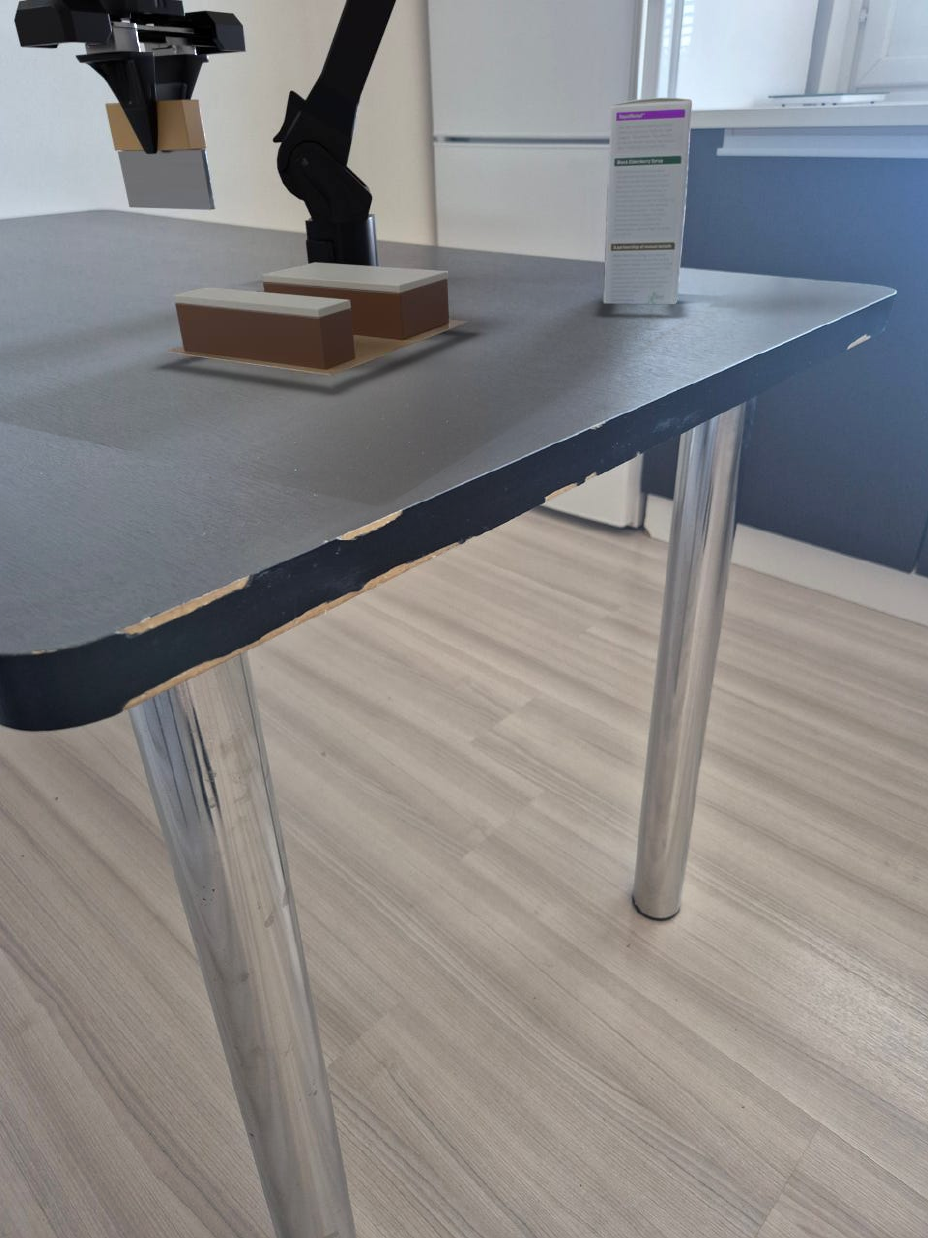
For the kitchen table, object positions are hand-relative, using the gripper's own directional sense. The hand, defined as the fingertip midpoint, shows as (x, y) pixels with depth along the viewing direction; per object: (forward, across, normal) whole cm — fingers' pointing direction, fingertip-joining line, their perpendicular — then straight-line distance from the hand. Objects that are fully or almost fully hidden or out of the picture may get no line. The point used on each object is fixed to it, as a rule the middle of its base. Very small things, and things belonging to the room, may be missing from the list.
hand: (162, 153), depth 72 cm
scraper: (+4, 0, 0) cm, 4 cm away
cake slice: (+11, +17, +24) cm, 31 cm away
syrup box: (+12, -10, +40) cm, 43 cm away
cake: (+11, +7, +24) cm, 28 cm away
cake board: (+12, +11, +24) cm, 29 cm away
